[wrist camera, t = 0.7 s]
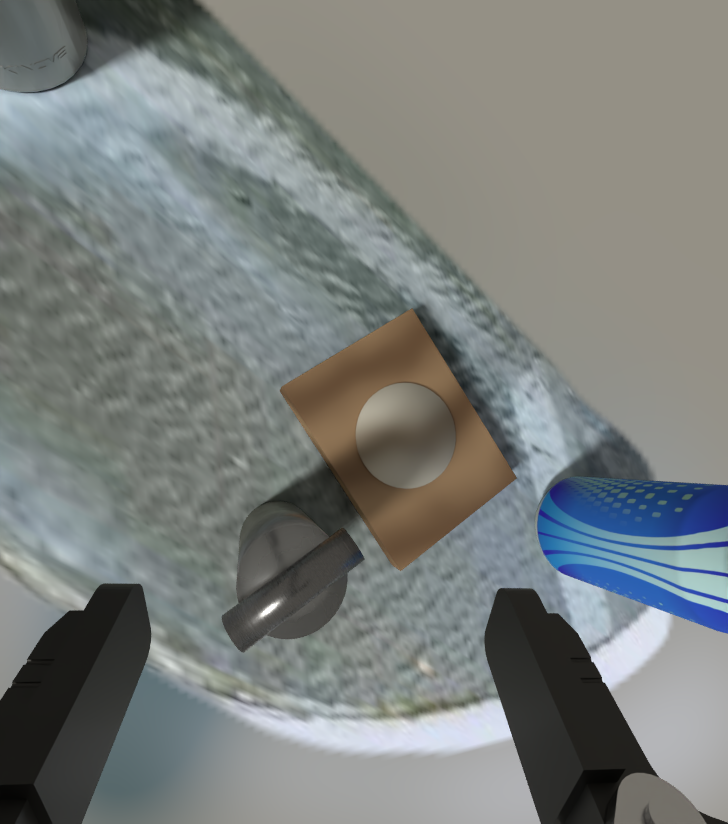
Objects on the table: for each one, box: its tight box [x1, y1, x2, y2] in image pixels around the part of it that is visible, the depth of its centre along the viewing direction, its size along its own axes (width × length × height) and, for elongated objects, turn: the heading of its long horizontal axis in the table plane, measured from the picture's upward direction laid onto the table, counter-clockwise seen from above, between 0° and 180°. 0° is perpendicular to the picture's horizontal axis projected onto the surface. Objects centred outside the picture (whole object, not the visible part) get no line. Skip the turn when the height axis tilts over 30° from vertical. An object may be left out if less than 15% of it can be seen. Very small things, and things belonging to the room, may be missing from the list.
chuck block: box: [280, 309, 517, 571], centre depth 34 cm, size 16×12×2 cm
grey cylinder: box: [222, 501, 365, 653], centre depth 26 cm, size 5×6×14 cm
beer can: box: [535, 476, 728, 633], centre depth 31 cm, size 8×8×16 cm
